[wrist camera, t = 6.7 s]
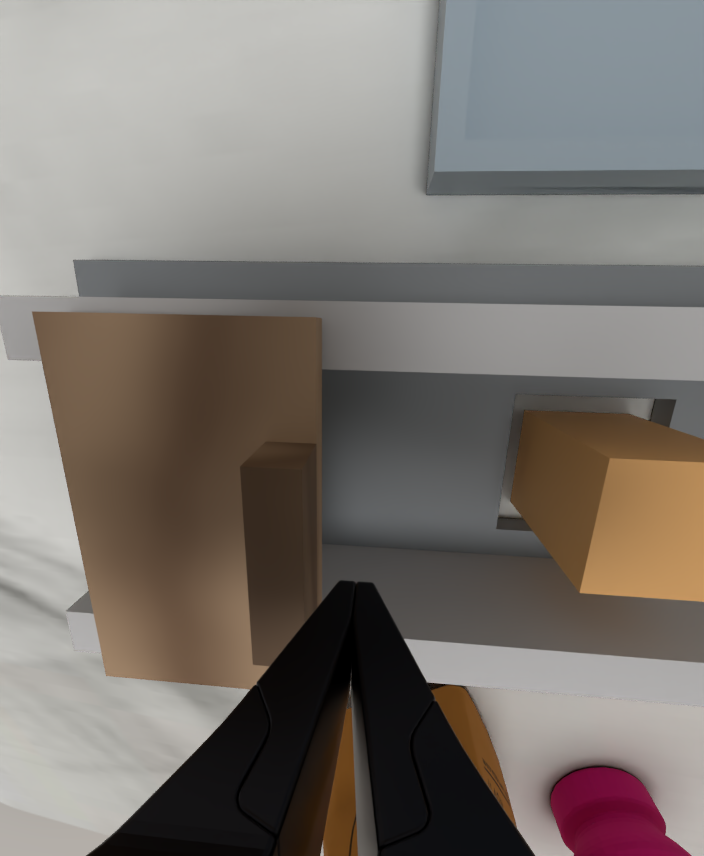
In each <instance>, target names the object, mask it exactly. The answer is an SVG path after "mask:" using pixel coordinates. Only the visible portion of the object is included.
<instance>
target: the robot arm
mask: <svg viewBox="0 0 704 856" xmlns="http://www.w3.org/2000/svg"><path fill="white" fill-rule="evenodd" d="M350 683H351V704H352V728H353V751H354V775H355V798H356V821H357V845H358V856H535V855H534V853H533V852H532V850H531V849H530V847H529V846H528V844H527V843H526V841H525V840H524V838H523V837H522V835H521V834H520V832H519V831H518V829H517V828H516V826H515V825H514V824H513V822H512V821H511V819H510V818H509V816H508V815H507V813H506V812H505V810H504V809H503V807H502V806H501V804H500V803H499V801H498V800H497V798H496V797H495V795H494V794H493V792H492V791H491V789H490V788H489V787H488V785H487V784H486V782H485V781H484V779H483V778H482V776H481V774H480V773H479V771H478V770H477V768H476V767H475V765H474V764H473V762H472V760H471V759H470V757H469V756H468V754H467V753H466V751H465V750H464V748H463V746H462V745H461V743H460V741H459V739H458V738H457V736H456V734H455V732H454V731H453V729H452V727H451V725H450V724H449V722H448V720H447V718H446V716H445V715H444V713H443V711H442V709H441V707H440V705H439V703H438V702H437V701H435V696H434V694H433V693H432V691H431V689H430V687H429V685H428V683H427V681H426V679H425V678H424V676H423V674H422V672H421V670H420V668H419V666H418V665H417V663H416V661H415V659H414V657H413V655H412V653H411V651H410V650H409V648H408V646H407V644H406V642H405V640H404V638H403V636H402V635H401V633H400V631H399V629H398V627H397V625H396V623H395V622H394V620H393V618H392V616H391V614H390V612H389V610H388V608H387V607H386V605H385V603H384V601H383V599H382V597H381V595H380V593H379V592H378V590H377V588H376V586H375V584H374V583H373V582H363V581H358V582H357V584H356V582H355V581H348V580H340V581H338V582H337V584H336V585H335V586H334V587H333V589H332V590H331V591H330V592H329V593H328V595H327V596H326V597H325V598H324V600H323V601H322V602H321V603H320V605H319V606H318V607H317V608H316V610H315V611H314V612H313V613H312V614H311V616H310V617H309V618H308V619H307V621H306V622H305V623H304V624H303V626H302V627H301V628H300V629H299V631H298V632H297V633H296V634H295V635H294V637H293V638H292V639H291V640H290V642H289V643H288V644H287V645H286V647H285V648H284V649H283V650H282V652H281V653H280V654H279V655H278V656H277V658H276V659H275V660H274V661H273V663H272V664H271V665H270V666H269V668H268V669H267V670H266V671H265V673H264V674H263V675H262V676H261V677H260V679H259V680H258V681H257V683H256V685H254V686H253V687H252V688H251V689H250V691H249V692H248V693H247V694H246V696H245V697H244V698H243V699H242V701H241V702H240V703H239V704H238V705H237V707H236V708H235V709H234V710H233V711H232V712H231V714H230V715H229V716H228V717H227V718H226V719H225V721H224V722H223V723H222V724H221V725H220V726H219V727H218V728H217V729H216V730H215V731H214V732H213V734H212V735H211V736H210V737H209V738H208V739H207V740H206V741H205V742H204V743H203V744H202V745H201V746H200V747H199V748H198V749H197V750H196V751H195V752H194V753H193V754H192V755H191V756H190V757H189V758H188V759H187V760H186V762H185V763H184V764H183V765H182V766H181V767H180V768H179V769H178V770H177V771H176V772H175V773H174V774H173V775H172V776H171V777H170V778H169V779H168V780H167V781H166V782H165V783H164V784H163V785H162V786H161V787H160V788H159V789H158V790H157V791H156V792H155V793H154V794H153V795H152V796H151V797H150V798H149V799H148V800H147V801H146V802H145V803H144V804H143V805H142V806H141V807H140V808H139V809H138V810H137V811H136V812H135V813H134V814H133V815H132V816H131V817H130V818H129V819H128V820H127V821H126V822H125V823H124V824H123V825H122V826H121V827H120V828H119V829H118V830H117V831H116V832H115V833H113V834H112V835H111V836H110V837H109V838H108V839H106V840H105V841H104V842H103V843H102V844H101V845H99V846H98V847H97V848H95V849H94V850H93V851H92V852H90V853H89V854H88V855H86V856H320V853H321V847H322V842H323V836H324V831H325V825H326V820H327V814H328V809H329V803H330V798H331V792H332V786H333V781H334V775H335V770H336V764H337V759H338V753H339V748H340V742H341V736H342V731H343V725H344V720H345V714H346V709H347V703H348V697H349V691H350Z"/></svg>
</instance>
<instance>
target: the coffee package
mask: <svg viewBox="0 0 704 856" xmlns="http://www.w3.org/2000/svg"><path fill="white" fill-rule="evenodd" d="M431 691H432V693H433V694H434V696H435V701H437V702H438V703H439V705H440V707H441V709H442V711H443V713H444V715H445V716H446V718H447V720H448V722H449V724H450V725H451V727H452V729H453V731H454V732H455V734H456V736H457V738H458V739H459V741H460V743H461V745H462V746H463V748H464V750H465V751H466V753H467V754H468V756H469V757H470V759H471V760H472V762H473V764H474V765H475V767H476V768H477V770H478V771H479V773H480V774H481V776H482V778H483V779H484V781H485V782H486V784H487V785H488V787H489V788H490V789H491V791H492V792H493V794H494V795H495V797H496V798H497V800H498V801H499V803H500V804H501V806H502V807H503V809H504V810H505V812H506V813H507V815H508V816H509V818H510V819H511V821H512V822H513V824H514V825H515V826H516V822H515V818H514V815H513V811H512V807H511V804H510V800H509V796H508V792H507V789H506V785H505V782H504V778H503V775H502V771H501V768H500V764H499V761H498V758H497V755H496V753H495V750H494V748H493V745H492V742H491V740H490V737H489V735H488V732H487V730H486V728H485V726H484V724H483V722H482V720H481V718H480V715H479V713H478V711H477V709H476V707H475V705H474V703H473V702H472V700H471V698H470V696H469V695H468V693H467V691H466V690H465V689H464V688H462V687H460V686H455V685H445V686H442V687H440V688H437V689H433V690H431ZM516 828H517V827H516ZM323 848H324V856H358V845H357V821H356V798H355V775H354V751H353V728H352V708H349V709H346V714H345V720H344V725H343V731H342V736H341V742H340V748H339V753H338V759H337V764H336V770H335V775H334V781H333V786H332V792H331V798H330V803H329V809H328V814H327V820H326V825H325V831H324V836H323Z"/></svg>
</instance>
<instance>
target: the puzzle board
mask: <svg viewBox="0 0 704 856" xmlns="http://www.w3.org/2000/svg"><path fill="white" fill-rule="evenodd" d="M73 262H74V268H75V274H76V280H77V286H78V292H79V297H67V296H9V295H0V328H1V332H2V336H3V341H4V345H5V349H6V354H7V358H8V360H33V361H42V359H41V354H40V350H39V345H38V340H37V335H36V330H35V325H34V320H33V315H32V311H36V312H85V313H134V314H183V315H232V316H281V317H317V318H322V601H323V600H324V598H325V597H326V596H327V595H328V593H329V592H330V591H331V590H332V589H333V587H334V586H335V585H336V584H337V582H338V581H340V580H348V581H355V582H356V584H357V582H358V581H363V582H373V583H374V584H375V586H376V588H377V590H378V592H379V593H380V595H381V597H382V599H383V601H384V603H385V605H386V607H387V608H388V610H389V612H390V614H391V616H392V618H393V620H394V622H395V623H396V625H397V627H398V629H399V631H400V633H401V635H402V636H403V638H404V640H405V642H406V644H407V646H408V648H409V650H410V651H411V653H412V655H413V657H414V659H415V661H416V663H417V665H418V666H419V668H420V670H421V672H422V674H423V676H424V678H425V679H426V681H427V682H429V683H440V684H451V685H463V686H474V687H485V688H496V689H508V690H519V691H530V692H541V693H553V694H564V695H575V696H587V697H598V698H609V699H620V700H632V701H643V702H654V703H665V704H677V705H688V706H699V707H704V602H700V601H686V600H671V599H657V598H643V597H629V596H614V595H600V594H586V593H579V592H578V590H577V589H576V588H575V586H574V585H573V584H572V582H571V581H570V580H569V578H568V577H567V576H566V574H565V573H564V572H563V570H562V569H561V568H560V566H559V565H558V564H557V563H556V561H555V560H554V559H553V557H552V556H551V555H550V553H549V552H548V551H547V549H546V548H545V547H544V545H543V544H542V543H541V541H540V540H539V539H538V537H537V536H536V535H535V533H534V532H533V531H532V529H531V528H530V527H529V525H528V524H527V523H526V521H525V520H524V519H507V518H498V513H499V506H500V499H501V492H502V485H503V478H504V471H505V464H506V457H507V450H508V443H509V436H510V429H511V422H512V415H513V408H514V401H515V395H516V394H530V395H560V396H589V397H619V398H649V399H656V400H655V404H654V408H653V412H652V416H651V420H650V421H651V422H654V423H657V424H660V425H663V426H666V427H669V428H672V429H675V430H678V431H681V432H684V433H687V434H689V435H692V436H695V437H698V438H701V439H704V266H653V265H551V264H449V263H347V262H245V261H143V260H73ZM66 616H67V620H68V625H69V629H70V633H71V638H72V642H73V646H74V651H79V652H91V653H101V648H100V643H99V638H98V633H97V628H96V623H95V619H94V614H93V609H92V604H91V599H90V594H89V591H88V592H87V593H86V594H84V595H83V596H82V597H81V598H80V599H79V600H78V601H77V602H75V603H74V604H73V605H72V606H71V607H70V608H69V609H68V610H67V611H66Z"/></svg>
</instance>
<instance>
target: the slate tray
mask: <svg viewBox="0 0 704 856" xmlns="http://www.w3.org/2000/svg"><path fill="white" fill-rule="evenodd" d="M490 194H704V0H439V15H438V30H437V45H436V60H435V74H434V89H433V104H432V119H431V134H430V149H429V163H428V178H427V193H426V195H490Z"/></svg>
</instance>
